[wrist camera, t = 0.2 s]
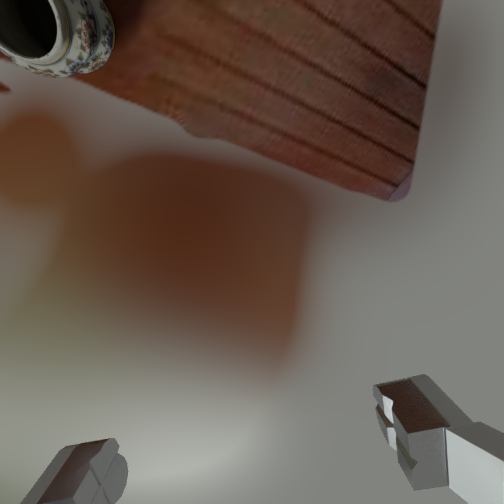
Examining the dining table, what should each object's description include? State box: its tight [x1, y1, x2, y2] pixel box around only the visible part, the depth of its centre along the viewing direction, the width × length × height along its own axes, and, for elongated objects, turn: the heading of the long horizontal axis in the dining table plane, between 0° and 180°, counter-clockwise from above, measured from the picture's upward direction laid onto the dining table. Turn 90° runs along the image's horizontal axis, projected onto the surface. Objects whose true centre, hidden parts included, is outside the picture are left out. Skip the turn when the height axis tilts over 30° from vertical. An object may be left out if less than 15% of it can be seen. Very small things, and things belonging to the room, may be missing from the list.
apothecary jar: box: [0, 0, 115, 78], centre depth 32 cm, size 12×12×18 cm
